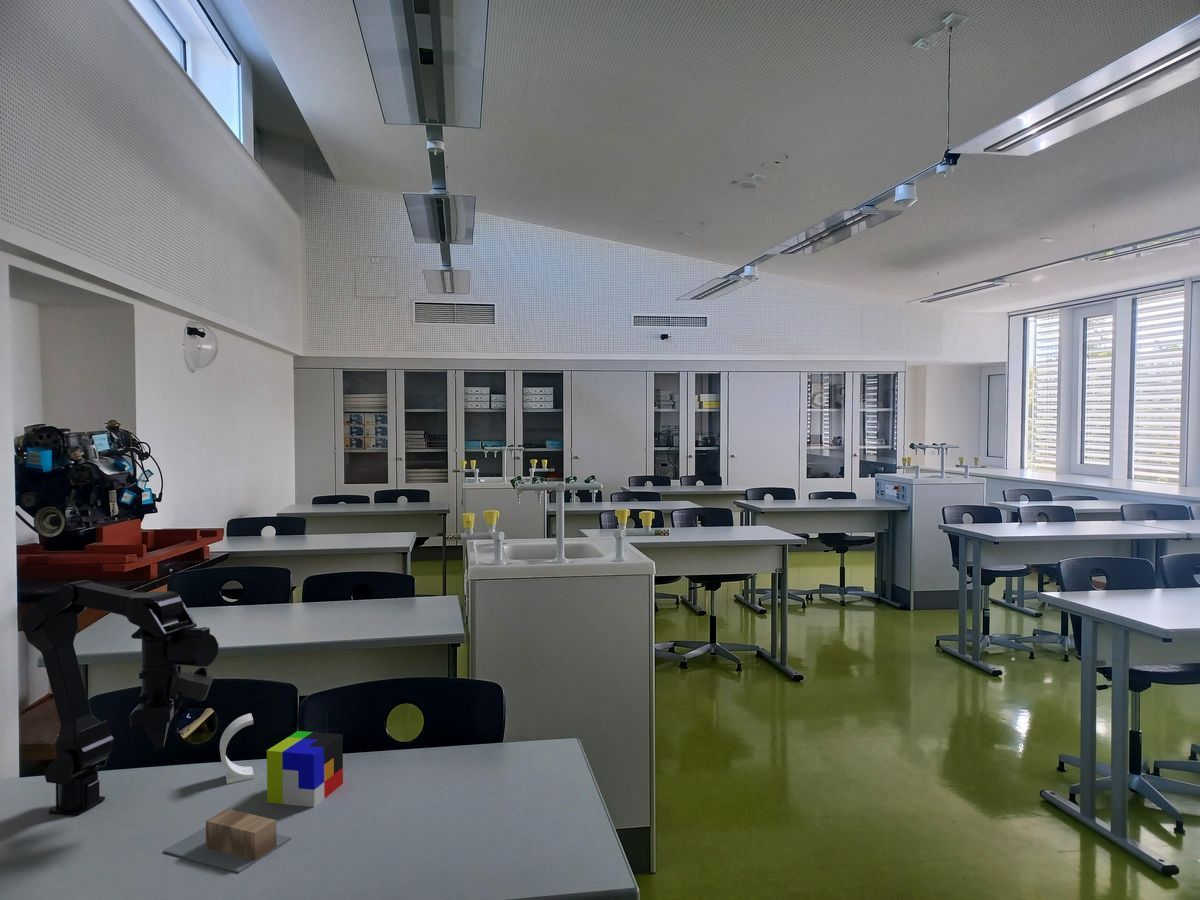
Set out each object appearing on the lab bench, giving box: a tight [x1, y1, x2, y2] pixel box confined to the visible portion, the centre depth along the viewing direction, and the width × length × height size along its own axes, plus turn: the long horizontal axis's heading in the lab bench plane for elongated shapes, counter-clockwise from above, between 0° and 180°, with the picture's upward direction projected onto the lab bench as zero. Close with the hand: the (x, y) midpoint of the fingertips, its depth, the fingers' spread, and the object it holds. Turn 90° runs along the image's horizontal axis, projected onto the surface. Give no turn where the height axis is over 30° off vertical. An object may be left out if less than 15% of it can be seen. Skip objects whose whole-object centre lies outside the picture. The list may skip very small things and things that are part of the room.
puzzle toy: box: [266, 730, 344, 808], centre depth 146 cm, size 10×10×10 cm
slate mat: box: [163, 826, 292, 874], centre depth 127 cm, size 17×11×1 cm, turn 68°
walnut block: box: [205, 808, 277, 860], centre depth 126 cm, size 4×4×11 cm
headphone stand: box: [219, 712, 255, 785], centre depth 153 cm, size 5×6×12 cm
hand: (160, 747), depth 137 cm, fingers closed
